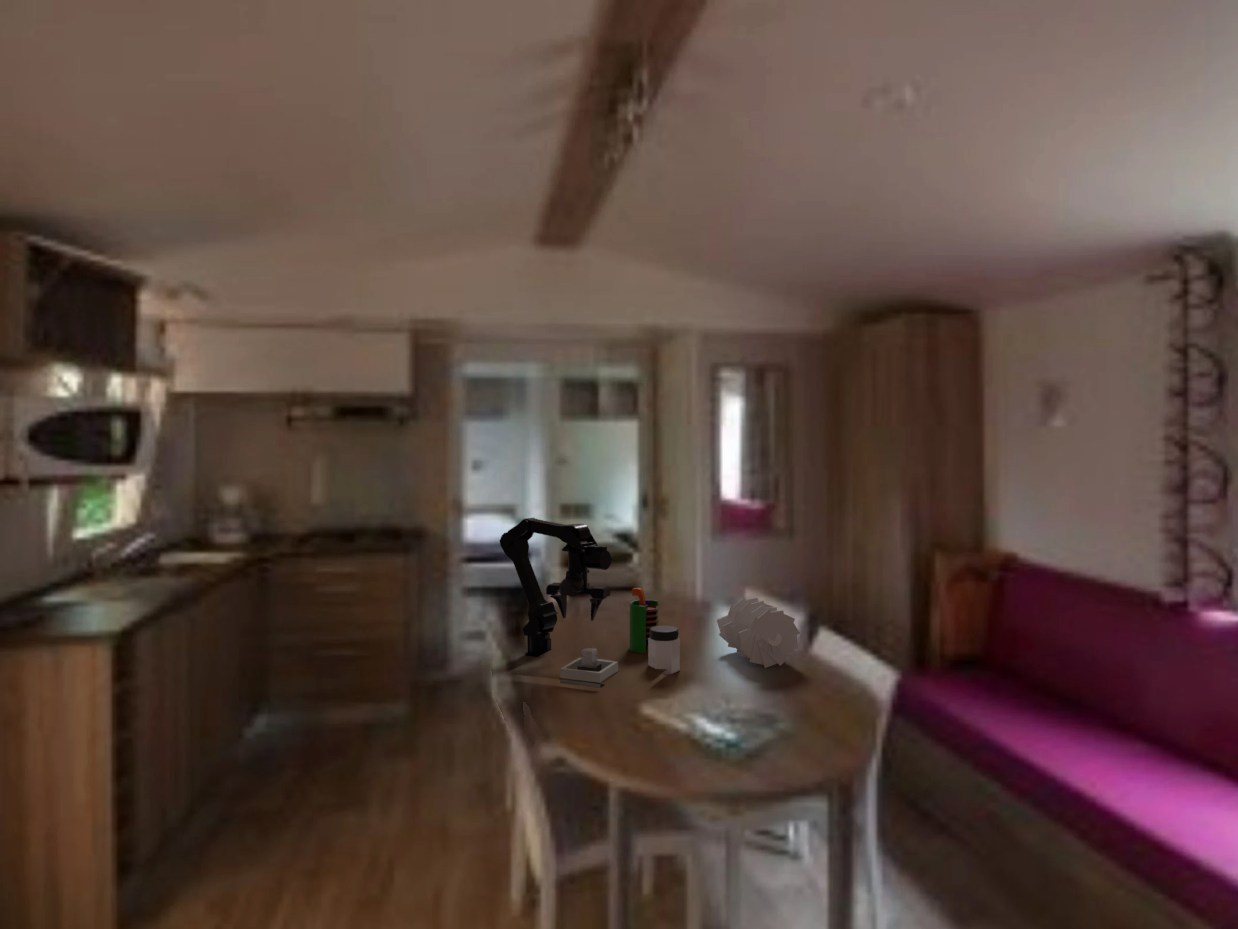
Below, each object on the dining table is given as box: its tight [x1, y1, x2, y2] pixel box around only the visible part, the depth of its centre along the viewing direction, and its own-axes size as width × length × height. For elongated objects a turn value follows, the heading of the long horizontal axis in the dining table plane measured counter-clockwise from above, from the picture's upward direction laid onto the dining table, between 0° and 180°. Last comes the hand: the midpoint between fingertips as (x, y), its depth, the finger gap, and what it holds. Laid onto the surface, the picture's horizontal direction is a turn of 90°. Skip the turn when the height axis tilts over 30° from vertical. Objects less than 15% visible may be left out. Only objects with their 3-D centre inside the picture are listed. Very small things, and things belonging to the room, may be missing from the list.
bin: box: [559, 657, 619, 689], centre depth 238 cm, size 12×12×4 cm
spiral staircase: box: [716, 597, 801, 669], centre depth 257 cm, size 18×18×25 cm
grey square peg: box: [577, 647, 601, 672], centre depth 238 cm, size 5×5×8 cm
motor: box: [628, 587, 659, 654], centre depth 265 cm, size 10×9×20 cm
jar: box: [647, 625, 681, 675], centre depth 247 cm, size 9×8×12 cm
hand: (578, 619), depth 257 cm, fingers open, 9 cm apart
